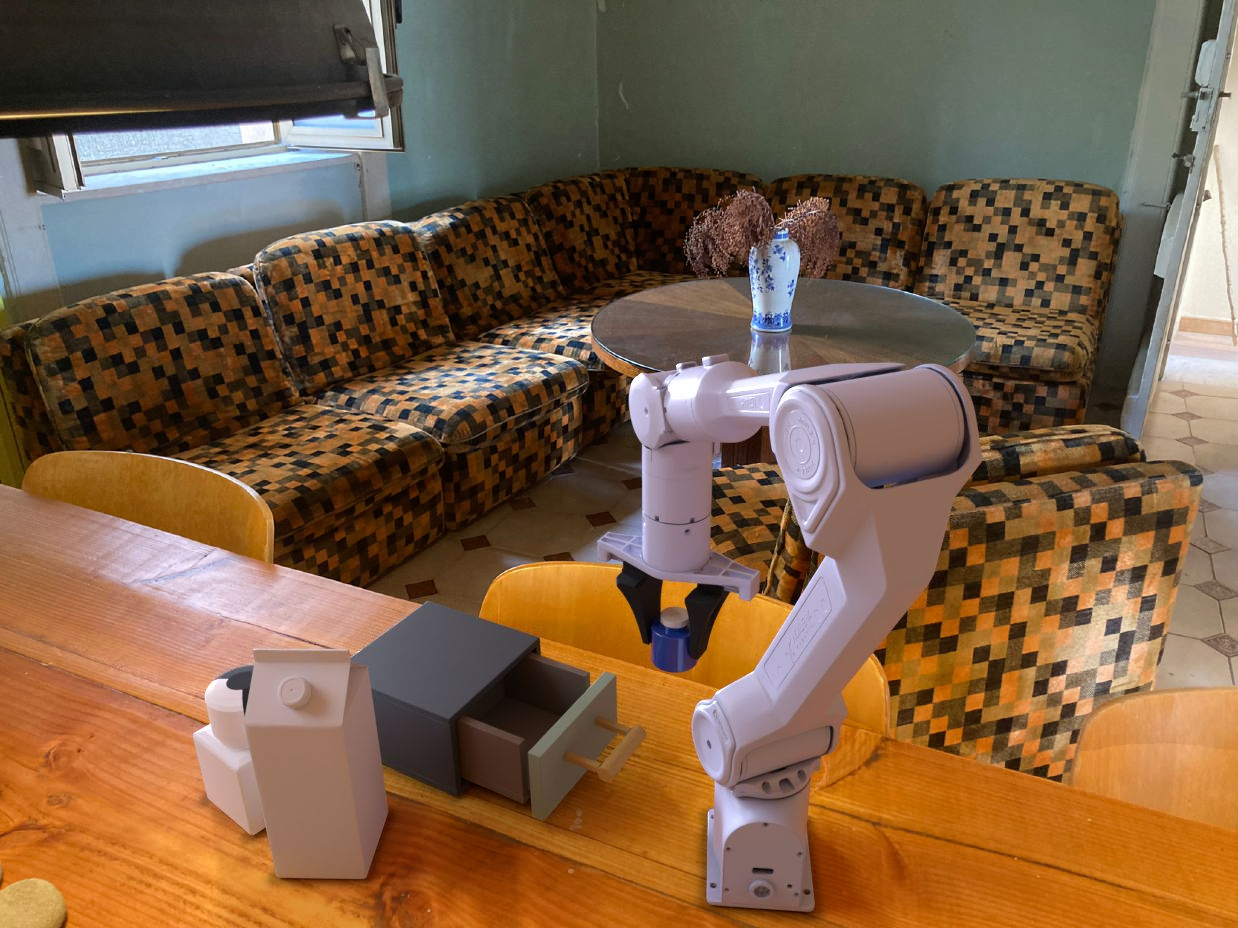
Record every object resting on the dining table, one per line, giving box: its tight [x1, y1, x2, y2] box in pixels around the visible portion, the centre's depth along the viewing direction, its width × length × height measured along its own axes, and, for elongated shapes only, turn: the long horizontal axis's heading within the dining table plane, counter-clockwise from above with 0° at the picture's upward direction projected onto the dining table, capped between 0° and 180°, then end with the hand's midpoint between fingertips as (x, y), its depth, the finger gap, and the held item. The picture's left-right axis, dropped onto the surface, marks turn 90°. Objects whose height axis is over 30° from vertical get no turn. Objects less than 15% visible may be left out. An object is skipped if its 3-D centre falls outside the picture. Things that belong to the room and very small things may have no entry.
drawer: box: [455, 652, 648, 822], centre depth 84 cm, size 17×12×7 cm
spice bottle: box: [650, 606, 699, 674], centre depth 85 cm, size 4×4×5 cm
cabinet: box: [350, 600, 542, 798], centre depth 89 cm, size 13×13×8 cm
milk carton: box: [244, 647, 389, 880], centre depth 74 cm, size 7×7×19 cm
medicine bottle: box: [192, 664, 266, 836], centre depth 81 cm, size 7×7×12 cm
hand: (674, 645), depth 86 cm, fingers closed on spice bottle, 4 cm apart
